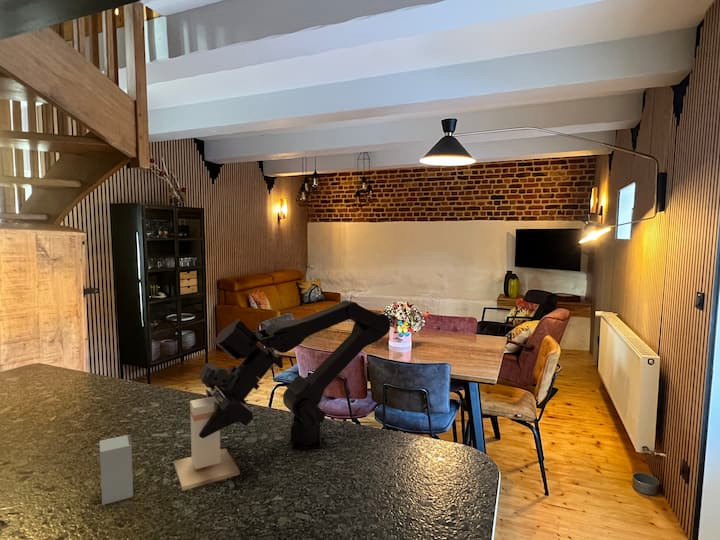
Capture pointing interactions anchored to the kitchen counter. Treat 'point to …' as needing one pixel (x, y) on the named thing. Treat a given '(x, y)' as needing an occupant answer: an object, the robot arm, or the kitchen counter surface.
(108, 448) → the ticket block
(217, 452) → the beige upright block
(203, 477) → the coaster
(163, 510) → the kitchen counter surface
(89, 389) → the kitchen counter surface
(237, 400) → the robot arm
